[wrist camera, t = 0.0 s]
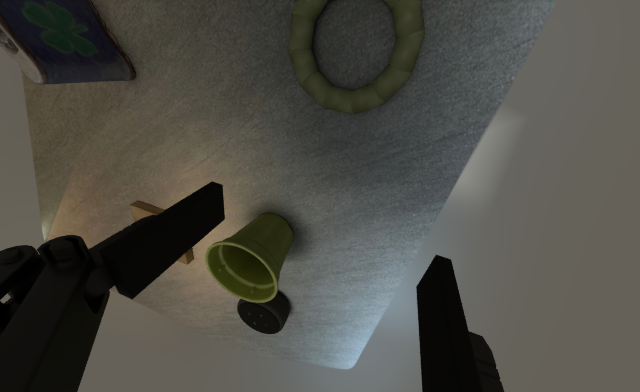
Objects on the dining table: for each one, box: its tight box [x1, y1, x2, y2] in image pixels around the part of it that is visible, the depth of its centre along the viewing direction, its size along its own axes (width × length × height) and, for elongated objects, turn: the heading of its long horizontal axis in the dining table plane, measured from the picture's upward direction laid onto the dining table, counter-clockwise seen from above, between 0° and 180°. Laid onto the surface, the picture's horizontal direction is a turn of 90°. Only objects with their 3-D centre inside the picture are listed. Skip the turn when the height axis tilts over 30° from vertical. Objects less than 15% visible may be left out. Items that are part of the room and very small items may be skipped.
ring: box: [288, 0, 425, 114], centre depth 19 cm, size 11×11×2 cm
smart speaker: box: [237, 292, 289, 334], centre depth 41 cm, size 9×9×4 cm
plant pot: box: [205, 213, 293, 303], centre depth 30 cm, size 9×9×9 cm
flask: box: [0, 0, 135, 85], centre depth 23 cm, size 9×3×11 cm, turn 25°
